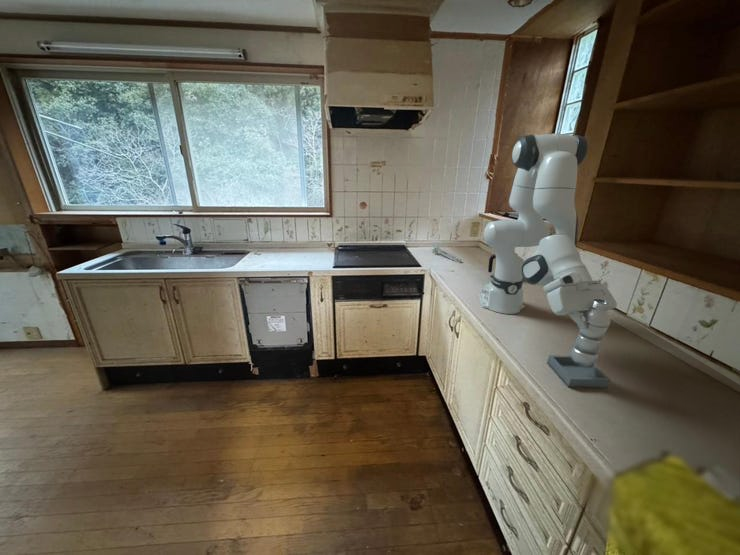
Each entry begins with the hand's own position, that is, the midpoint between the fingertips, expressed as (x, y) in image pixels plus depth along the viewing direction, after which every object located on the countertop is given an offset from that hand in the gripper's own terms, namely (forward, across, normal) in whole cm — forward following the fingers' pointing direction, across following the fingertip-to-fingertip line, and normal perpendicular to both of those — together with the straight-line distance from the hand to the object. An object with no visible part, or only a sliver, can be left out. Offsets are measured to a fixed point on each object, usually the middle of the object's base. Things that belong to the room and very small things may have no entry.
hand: (594, 327), depth 81 cm
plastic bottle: (+9, 0, -9) cm, 13 cm away
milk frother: (-42, -33, -65) cm, 84 cm away
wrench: (-75, -24, -100) cm, 127 cm away
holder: (+11, -1, -13) cm, 17 cm away
